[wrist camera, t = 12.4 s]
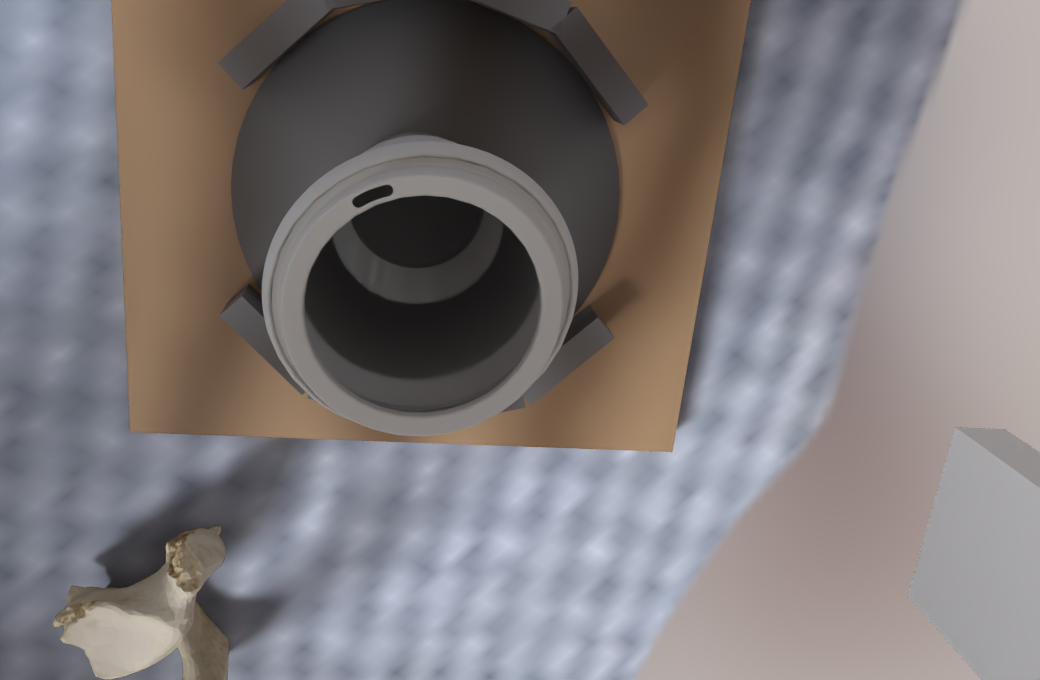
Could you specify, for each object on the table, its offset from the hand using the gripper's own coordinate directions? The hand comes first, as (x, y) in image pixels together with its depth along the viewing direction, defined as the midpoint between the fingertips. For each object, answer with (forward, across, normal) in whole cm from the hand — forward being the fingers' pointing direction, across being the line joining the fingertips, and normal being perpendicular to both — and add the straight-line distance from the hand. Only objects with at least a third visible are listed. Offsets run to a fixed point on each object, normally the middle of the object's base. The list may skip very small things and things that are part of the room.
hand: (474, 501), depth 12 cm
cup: (+20, 0, 0) cm, 20 cm away
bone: (+22, -9, -16) cm, 28 cm away
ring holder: (+21, 0, 0) cm, 21 cm away
